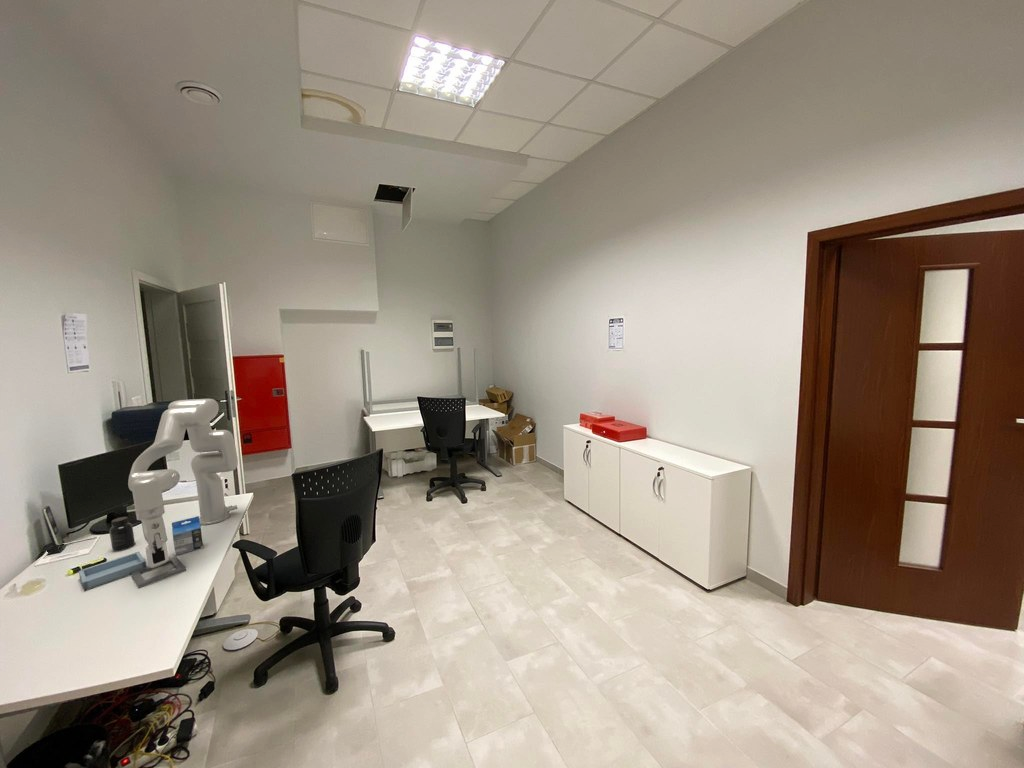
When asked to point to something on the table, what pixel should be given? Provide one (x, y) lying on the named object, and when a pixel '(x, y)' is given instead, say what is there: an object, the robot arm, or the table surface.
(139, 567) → the tray
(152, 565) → the eye dropper bottle
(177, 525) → the label tape box
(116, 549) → the supplement bottle
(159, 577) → the gray square frame
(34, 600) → the table surface
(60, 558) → the photo frame
